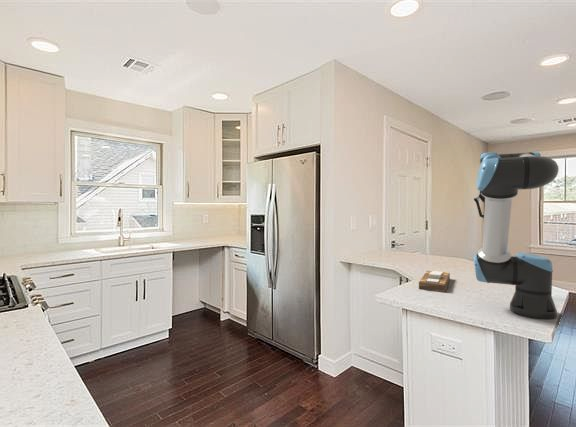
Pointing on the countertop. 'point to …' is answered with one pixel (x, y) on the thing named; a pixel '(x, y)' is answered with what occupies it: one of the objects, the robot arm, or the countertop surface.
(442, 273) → the far button
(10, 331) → the countertop surface
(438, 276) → the middle button
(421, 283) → the button board
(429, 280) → the near button
